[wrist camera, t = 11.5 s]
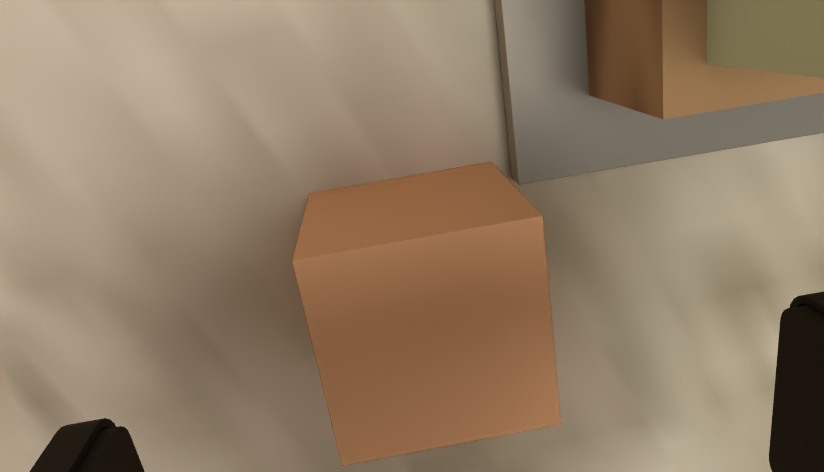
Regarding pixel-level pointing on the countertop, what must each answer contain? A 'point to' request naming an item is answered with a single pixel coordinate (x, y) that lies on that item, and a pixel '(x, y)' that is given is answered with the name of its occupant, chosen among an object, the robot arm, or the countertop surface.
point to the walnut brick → (671, 62)
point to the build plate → (607, 105)
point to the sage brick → (767, 35)
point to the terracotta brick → (428, 311)
